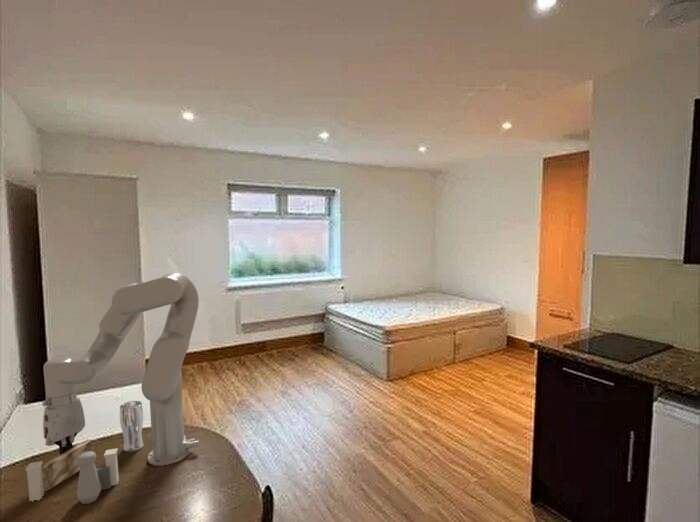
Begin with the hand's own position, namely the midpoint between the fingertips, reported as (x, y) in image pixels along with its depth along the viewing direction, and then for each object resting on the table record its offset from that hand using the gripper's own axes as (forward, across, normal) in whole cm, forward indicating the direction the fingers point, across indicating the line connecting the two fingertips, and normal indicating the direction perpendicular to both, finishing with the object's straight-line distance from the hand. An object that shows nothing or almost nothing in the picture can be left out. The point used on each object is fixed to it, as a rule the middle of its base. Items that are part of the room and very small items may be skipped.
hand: (66, 456), depth 127 cm
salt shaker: (+5, -7, -20) cm, 22 cm away
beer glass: (+5, +17, -8) cm, 19 cm away
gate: (+4, -3, -5) cm, 6 cm away
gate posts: (+5, -7, -13) cm, 15 cm away
